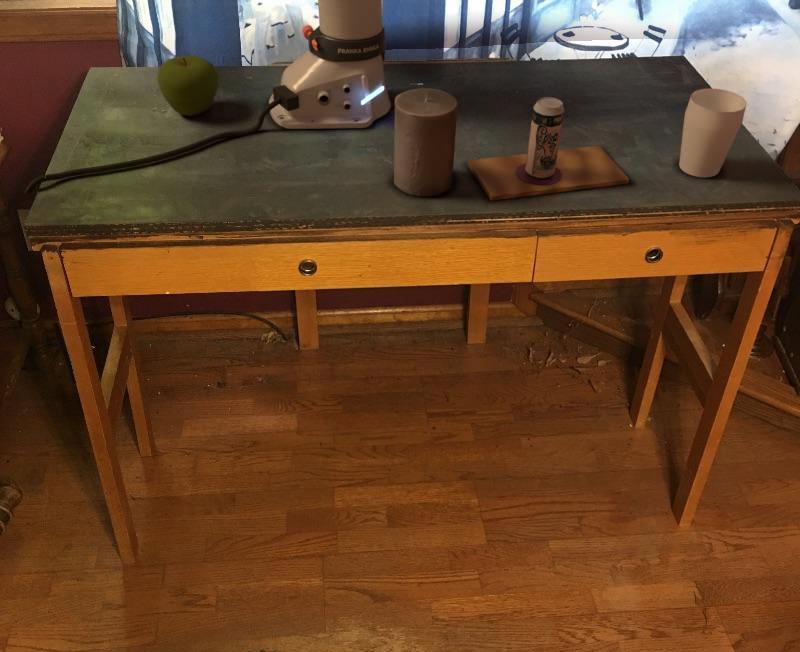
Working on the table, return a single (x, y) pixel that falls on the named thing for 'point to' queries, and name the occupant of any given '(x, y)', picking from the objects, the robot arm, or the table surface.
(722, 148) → the cup
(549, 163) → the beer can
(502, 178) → the wooden board
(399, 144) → the pillar candle
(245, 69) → the table surface
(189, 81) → the apple
